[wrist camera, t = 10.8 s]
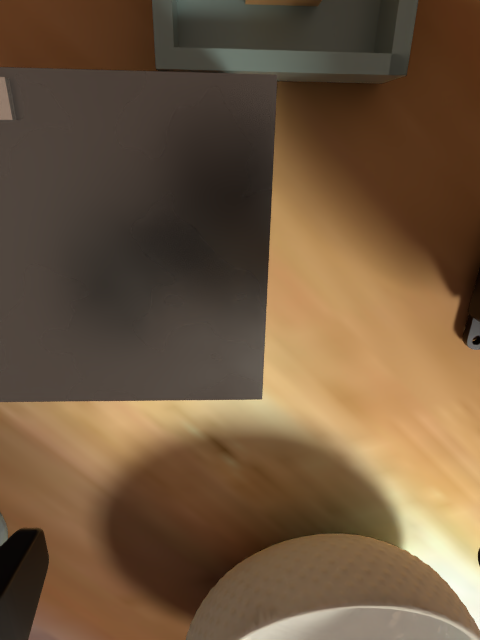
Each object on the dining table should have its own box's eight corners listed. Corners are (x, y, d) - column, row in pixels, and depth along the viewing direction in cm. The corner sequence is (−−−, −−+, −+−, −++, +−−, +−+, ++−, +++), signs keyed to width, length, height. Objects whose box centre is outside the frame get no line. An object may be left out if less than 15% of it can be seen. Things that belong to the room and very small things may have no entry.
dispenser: (252, 101, 16) (278, 73, 9) (247, 305, 19) (262, 403, 12) (-198, 90, 15) (-565, 50, 8) (-121, 305, 18) (-330, 409, 11)
